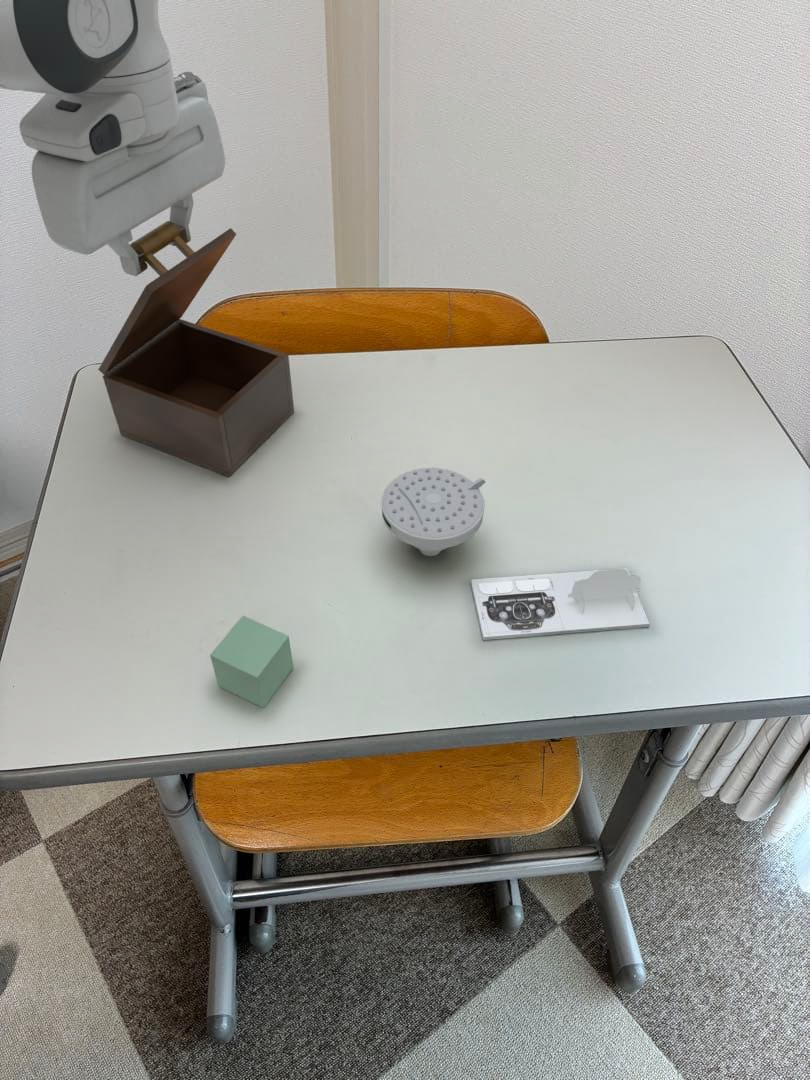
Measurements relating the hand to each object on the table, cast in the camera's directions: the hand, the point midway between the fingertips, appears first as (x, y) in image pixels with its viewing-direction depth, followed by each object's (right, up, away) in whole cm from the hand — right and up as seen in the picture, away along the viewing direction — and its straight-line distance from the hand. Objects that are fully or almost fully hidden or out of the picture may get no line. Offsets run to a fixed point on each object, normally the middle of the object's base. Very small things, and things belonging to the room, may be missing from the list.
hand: (158, 257), depth 76 cm
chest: (+2, -14, +13) cm, 19 cm away
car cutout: (+38, -33, -3) cm, 50 cm away
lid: (0, -3, +4) cm, 5 cm away
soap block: (+11, -38, -9) cm, 41 cm away
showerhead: (+26, -28, +1) cm, 38 cm away
